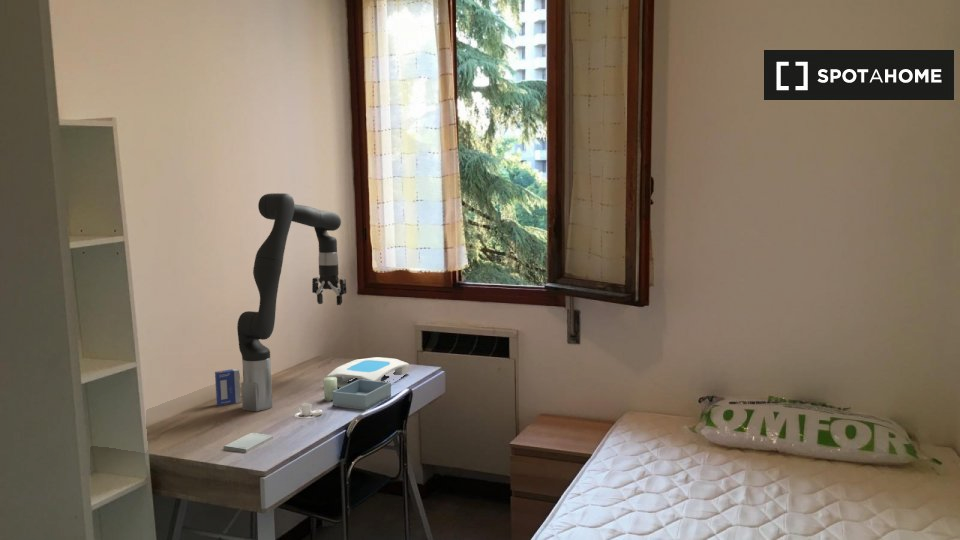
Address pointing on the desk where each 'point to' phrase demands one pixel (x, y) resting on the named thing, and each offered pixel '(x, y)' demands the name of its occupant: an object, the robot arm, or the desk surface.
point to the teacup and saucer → (307, 411)
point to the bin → (361, 394)
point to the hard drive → (248, 442)
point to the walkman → (227, 387)
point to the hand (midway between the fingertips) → (329, 304)
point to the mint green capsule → (329, 387)
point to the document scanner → (368, 369)
